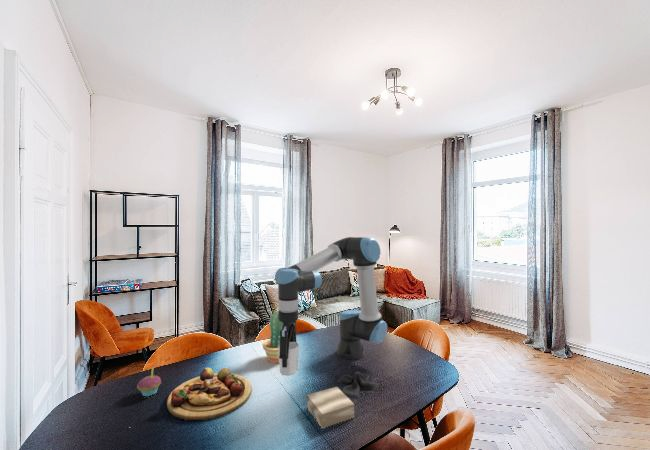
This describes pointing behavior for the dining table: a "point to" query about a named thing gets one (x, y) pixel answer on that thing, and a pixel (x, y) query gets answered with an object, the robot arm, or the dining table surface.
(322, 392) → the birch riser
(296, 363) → the white cup
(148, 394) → the cupcake
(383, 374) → the dining table surface
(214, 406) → the wooden plate with food
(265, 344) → the potted cactus
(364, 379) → the cloth
